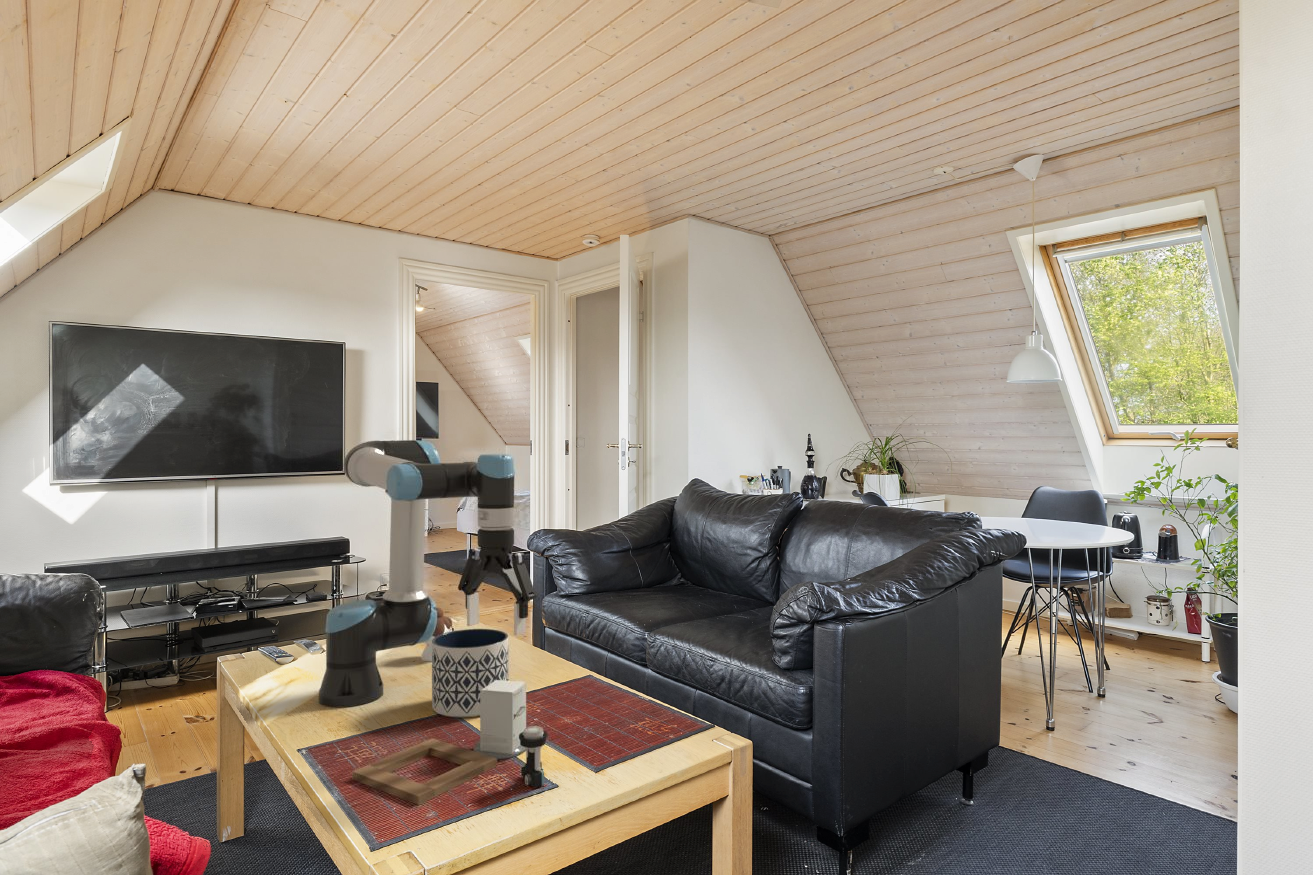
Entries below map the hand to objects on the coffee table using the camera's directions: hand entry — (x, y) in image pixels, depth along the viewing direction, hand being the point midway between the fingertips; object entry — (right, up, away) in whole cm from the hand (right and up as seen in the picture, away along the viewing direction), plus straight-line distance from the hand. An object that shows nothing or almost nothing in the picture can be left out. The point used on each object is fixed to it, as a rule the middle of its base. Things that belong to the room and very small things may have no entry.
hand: (496, 629), depth 158 cm
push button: (+10, -25, -16) cm, 31 cm away
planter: (-12, -25, +26) cm, 38 cm away
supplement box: (+2, -24, -1) cm, 24 cm away
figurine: (-32, -26, +66) cm, 78 cm away
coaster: (+1, -25, -1) cm, 25 cm away
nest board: (-11, -25, -12) cm, 30 cm away
